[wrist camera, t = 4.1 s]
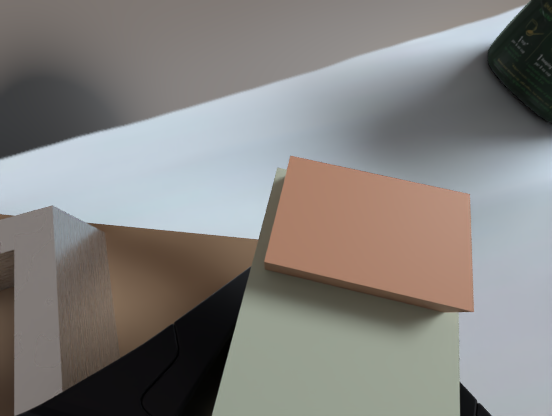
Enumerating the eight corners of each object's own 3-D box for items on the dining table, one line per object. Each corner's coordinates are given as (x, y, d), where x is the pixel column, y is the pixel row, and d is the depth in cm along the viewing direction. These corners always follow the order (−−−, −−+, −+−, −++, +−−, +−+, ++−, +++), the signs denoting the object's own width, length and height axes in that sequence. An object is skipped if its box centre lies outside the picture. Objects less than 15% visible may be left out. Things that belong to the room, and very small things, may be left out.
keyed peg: (306, 400, 13) (521, 861, 2) (244, 383, 13) (123, 719, 2) (325, 283, 15) (483, 191, 4) (271, 270, 15) (278, 146, 4)
